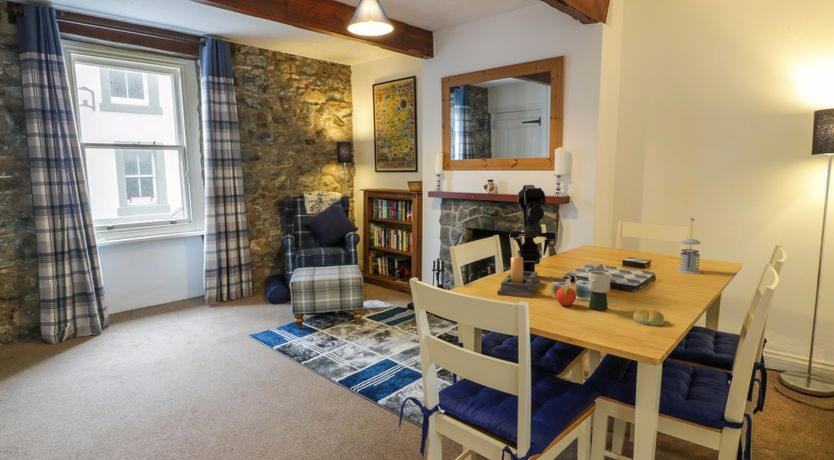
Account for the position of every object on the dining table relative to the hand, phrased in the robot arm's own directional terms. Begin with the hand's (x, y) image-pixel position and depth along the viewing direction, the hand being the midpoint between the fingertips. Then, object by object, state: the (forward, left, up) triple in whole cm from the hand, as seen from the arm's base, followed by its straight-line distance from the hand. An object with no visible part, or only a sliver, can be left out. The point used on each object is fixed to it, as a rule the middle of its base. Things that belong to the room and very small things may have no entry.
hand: (532, 254), depth 196 cm
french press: (-46, +64, -13) cm, 80 cm away
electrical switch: (-4, +26, -13) cm, 29 cm away
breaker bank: (+7, -4, -13) cm, 16 cm away
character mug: (+26, +27, -13) cm, 40 cm away
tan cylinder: (+13, -4, -12) cm, 18 cm away
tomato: (+26, +16, -13) cm, 33 cm away
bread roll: (+34, +43, -13) cm, 56 cm away
